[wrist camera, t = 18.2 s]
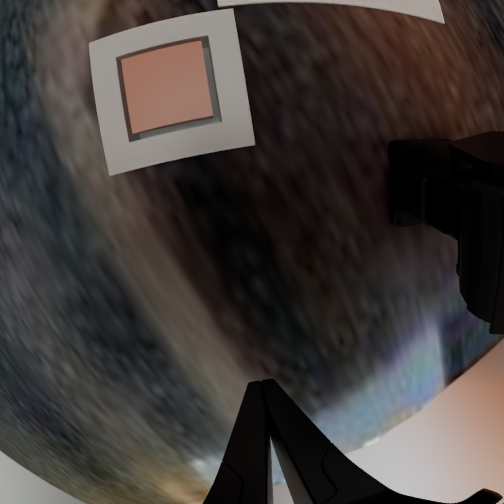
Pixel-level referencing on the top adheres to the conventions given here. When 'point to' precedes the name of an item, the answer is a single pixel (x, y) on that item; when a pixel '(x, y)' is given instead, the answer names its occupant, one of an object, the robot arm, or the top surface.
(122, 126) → the button housing
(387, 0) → the drawing paper
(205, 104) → the button
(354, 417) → the top surface
